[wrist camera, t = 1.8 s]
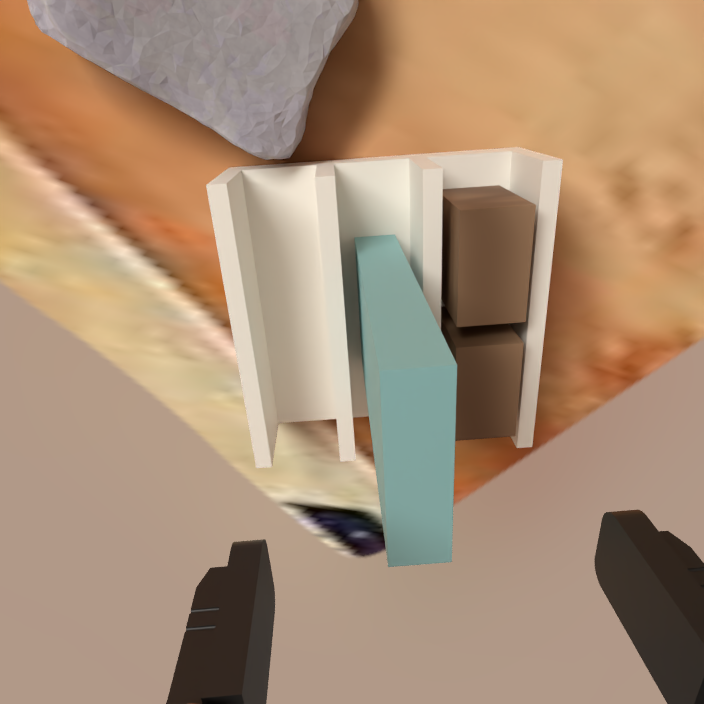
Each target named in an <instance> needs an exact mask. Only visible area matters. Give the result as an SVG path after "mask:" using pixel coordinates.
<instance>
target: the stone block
mask: <svg viewBox="0 0 704 704" xmlns="http://www.w3.org/2000/svg"><path fill="white" fill-rule="evenodd" d="M27 1H28V5H29V9H30V12H31V15H32V16H33V18H34V20H35V23H36V25H37V26H38V27H39V29H40V30H41V31H42V32H43V33H45V34H47V35H48V36H50V37H52V38H53V39H55V40H57V41H58V42H60V43H61V44H63V45H64V46H66V47H67V48H69V49H71V50H72V51H74V52H75V53H77V54H79V55H80V56H82V57H84V58H85V59H87V60H89V61H91V62H93V63H94V64H96V65H98V66H100V67H101V68H103V69H105V70H107V71H108V72H110V73H112V74H114V75H115V76H117V77H119V78H121V79H122V80H124V81H126V82H128V83H130V84H131V85H133V86H135V87H137V88H139V89H141V90H143V91H145V92H146V93H148V94H150V95H152V96H154V97H156V98H158V99H160V100H162V101H164V102H166V103H168V104H170V105H171V106H173V107H175V108H177V109H178V110H180V111H182V112H184V113H185V114H187V115H189V116H190V117H192V118H194V119H196V120H197V121H199V122H200V123H202V124H203V125H205V126H207V127H209V128H211V129H212V130H214V131H215V132H217V133H218V134H220V135H221V136H222V137H224V138H225V139H227V140H228V141H229V142H231V143H232V144H234V145H235V146H238V147H240V148H241V149H243V150H245V151H246V152H248V153H250V154H252V155H254V156H257V157H259V158H262V159H265V160H268V159H286V158H290V157H291V155H292V154H293V152H294V151H295V149H296V147H297V146H298V144H299V143H300V142H301V140H302V137H303V134H304V131H305V125H306V118H307V114H308V108H309V103H310V100H311V99H312V95H313V89H314V87H315V85H316V82H317V80H318V78H319V76H320V74H321V72H322V70H323V68H324V66H325V63H326V61H327V58H328V56H329V54H330V51H331V50H332V49H333V48H334V47H335V46H336V44H337V42H338V41H339V40H340V38H341V37H342V35H343V34H344V32H345V31H346V29H347V28H348V26H349V25H350V23H351V22H352V20H353V18H354V17H355V14H356V11H357V8H358V5H359V3H358V0H27Z"/></svg>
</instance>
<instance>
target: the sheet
mask: <svg viewBox="0 0 704 704" xmlns="http://www.w3.org/2000/svg"><path fill="white" fill-rule="evenodd" d="M354 238H355V255H356V271H357V288H358V304H359V320H360V337H361V353H362V366H363V374H364V382H365V390H366V397H367V405H368V413H369V421H370V429H371V436H372V444H373V452H374V460H375V468H376V475H377V483H378V491H379V499H380V507H381V514H382V522H383V530H384V538H385V545H386V553H387V561H388V567H394V566H407V565H419V564H432V563H445V562H451V561H452V531H453V496H454V460H455V425H456V389H457V363H456V361H455V359H454V357H453V355H452V353H451V351H450V349H449V347H448V345H447V343H446V340H445V338H444V336H443V334H442V332H441V330H440V328H439V326H438V324H437V322H436V320H435V317H434V315H433V313H432V311H431V309H430V307H429V305H428V303H427V301H426V299H425V296H424V294H423V292H422V290H421V288H420V286H419V284H418V282H417V280H416V278H415V276H414V273H413V271H412V269H411V267H410V265H409V263H408V261H407V259H406V257H405V255H404V253H403V250H402V248H401V246H400V244H399V242H398V240H397V238H396V236H395V234H394V235H380V236H366V237H354Z"/></svg>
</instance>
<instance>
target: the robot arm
mask: <svg viewBox="0 0 704 704" xmlns="http://www.w3.org/2000/svg"><path fill="white" fill-rule="evenodd" d="M595 570H596V575H597V578H598V581H599V584H600V586H601V588H602V590H603V591H604V593H605V595H606V596H607V598H608V600H609V602H610V603H611V605H612V607H613V609H614V610H615V612H616V614H617V616H618V617H619V619H620V621H621V623H622V624H623V626H624V628H625V630H626V631H627V633H628V635H629V637H630V639H631V640H632V642H633V644H634V646H635V647H636V649H637V651H638V653H639V655H640V656H641V658H642V660H643V661H644V663H645V665H646V667H647V668H648V670H649V672H650V674H651V676H652V677H653V679H654V681H655V682H656V684H657V686H658V688H659V690H660V691H661V693H662V695H663V697H664V698H665V700H666V702H667V704H704V563H703V562H702V561H701V559H700V558H699V557H698V556H697V555H696V553H695V552H694V551H693V550H692V548H691V547H690V546H688V545H687V544H685V543H684V542H683V541H681V540H680V539H678V538H677V537H676V536H674V535H673V534H671V533H670V532H669V531H660V532H659V531H658V530H657V529H656V528H655V526H654V525H653V524H652V522H651V521H650V520H649V519H648V517H647V516H646V515H645V514H644V513H643V512H642V511H640V510H629V511H617V512H606V513H605V514H604V515H603V518H602V523H601V528H600V534H599V539H598V544H597V550H596V555H595ZM274 614H275V591H274V583H273V577H272V571H271V565H270V560H269V554H268V548H267V544H266V540H253V541H241V542H234V543H233V544H232V547H231V551H230V556H229V562H228V566H227V567H215V568H210V569H209V571H208V572H207V574H206V575H205V576H204V578H203V579H202V580H201V582H200V583H199V585H198V586H197V588H196V591H195V595H194V599H193V603H192V607H191V614H189V618H188V622H187V626H186V632H185V634H184V638H183V642H182V645H181V650H180V653H179V657H178V661H177V665H176V669H175V673H174V677H173V681H172V684H171V688H170V692H169V696H168V700H167V703H166V704H266V700H267V689H268V678H269V668H270V657H271V646H272V636H273V624H274Z"/></svg>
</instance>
